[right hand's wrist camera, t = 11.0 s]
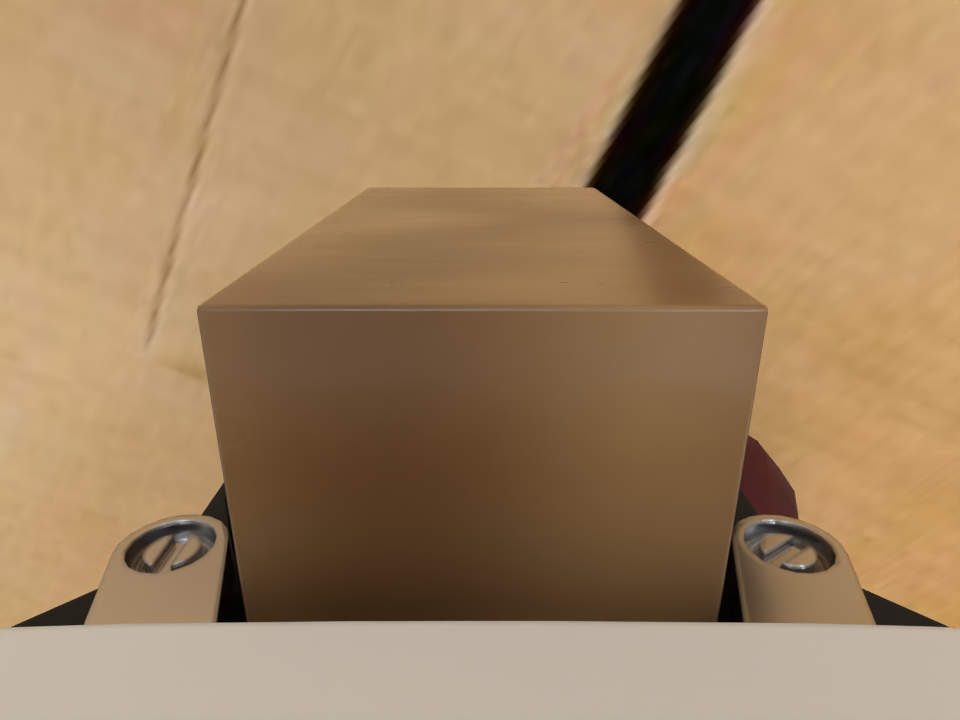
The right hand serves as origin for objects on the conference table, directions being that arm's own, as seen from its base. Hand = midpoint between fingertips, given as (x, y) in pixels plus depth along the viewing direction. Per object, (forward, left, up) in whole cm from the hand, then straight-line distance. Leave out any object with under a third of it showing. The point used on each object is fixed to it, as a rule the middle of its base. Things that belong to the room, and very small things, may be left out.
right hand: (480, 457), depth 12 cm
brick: (0, 0, -4) cm, 4 cm away
